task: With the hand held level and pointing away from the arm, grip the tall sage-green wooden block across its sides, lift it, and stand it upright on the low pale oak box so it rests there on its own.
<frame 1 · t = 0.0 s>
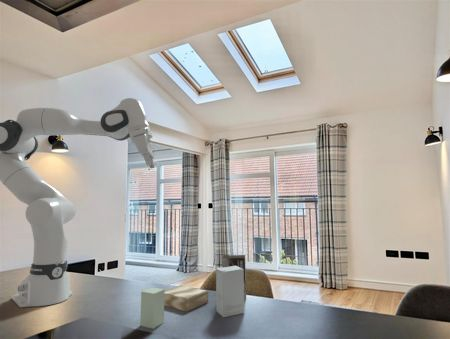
hand: (151, 166, 122), 52 cm above the table, tool tilted 20°, fingers open, 8 cm apart
coffee box: (234, 298, 115), on the table
skincare box: (230, 313, 100), on the table
sage block: (152, 324, 91), on the table
oak box: (183, 303, 110), on the table
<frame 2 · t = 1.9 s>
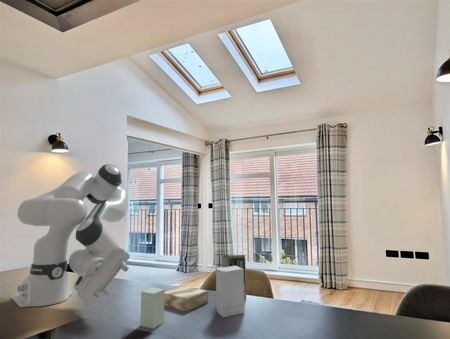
hand: (117, 281, 98), 11 cm above the table, tool horizontal, fingers open, 8 cm apart
nothing on the table moved.
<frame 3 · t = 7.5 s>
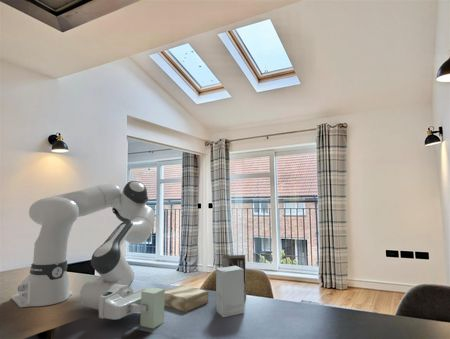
hand: (153, 305, 91), 6 cm above the table, tool horizontal, fingers closed on sage block, 5 cm apart
sage block: (152, 324, 91), on the table, touching gripper
everything else where it was.
when the fingers open (11 cm above the table, at t = 15.4 s): sage block drops 2 cm, resting on oak box.
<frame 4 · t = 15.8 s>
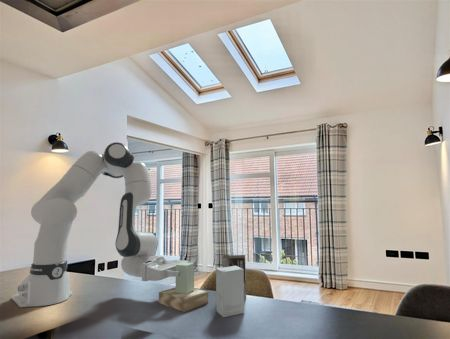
hand: (186, 271, 111), 11 cm above the table, tool horizontal, fingers open, 8 cm apart
sage block: (184, 291, 110), point 4 cm above the table, touching oak box
oak box: (183, 304, 110), on the table, touching sage block
everything else where it was.
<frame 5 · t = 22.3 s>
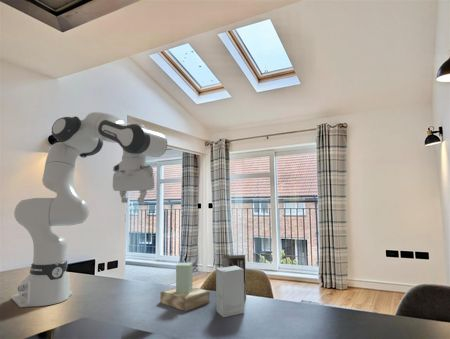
hand: (132, 202, 112), 37 cm above the table, tool pointing down, fingers open, 8 cm apart
at the end: sage block inside the target area on the oak box (0.4 cm from its centre), point 4.6 cm above the oak box's base; sage block tilted 2°; the gripper is holding nothing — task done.
